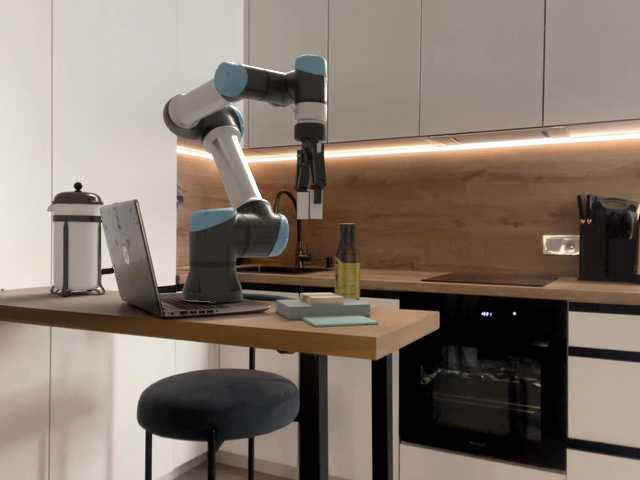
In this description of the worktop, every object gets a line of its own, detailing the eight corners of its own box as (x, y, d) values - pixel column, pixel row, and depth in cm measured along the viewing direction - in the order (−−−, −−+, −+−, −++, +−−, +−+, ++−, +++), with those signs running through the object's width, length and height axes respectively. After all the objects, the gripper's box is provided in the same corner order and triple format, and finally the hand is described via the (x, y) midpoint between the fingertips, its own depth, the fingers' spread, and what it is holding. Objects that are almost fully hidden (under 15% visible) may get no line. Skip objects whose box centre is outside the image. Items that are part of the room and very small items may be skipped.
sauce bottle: (338, 301, 148) (339, 223, 148) (362, 303, 146) (363, 223, 146) (331, 304, 142) (332, 223, 141) (356, 306, 140) (357, 223, 139)
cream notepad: (300, 299, 131) (300, 293, 131) (329, 298, 134) (329, 292, 134) (312, 305, 123) (312, 297, 123) (343, 304, 125) (343, 297, 125)
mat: (300, 318, 120) (300, 316, 120) (359, 316, 125) (359, 314, 125) (315, 326, 111) (315, 324, 111) (378, 324, 115) (378, 322, 115)
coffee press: (91, 298, 148) (91, 179, 148) (34, 296, 151) (34, 179, 151) (125, 290, 166) (126, 184, 165) (74, 288, 168) (74, 184, 168)
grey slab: (276, 311, 130) (276, 300, 130) (351, 308, 136) (351, 297, 136) (289, 319, 120) (289, 306, 120) (370, 315, 125) (370, 304, 125)
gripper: (282, 130, 146) (281, 218, 147) (309, 114, 125) (307, 218, 125) (311, 131, 148) (310, 219, 149) (342, 116, 127) (340, 219, 128)
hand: (309, 218), depth 137 cm, fingers open, 10 cm apart
